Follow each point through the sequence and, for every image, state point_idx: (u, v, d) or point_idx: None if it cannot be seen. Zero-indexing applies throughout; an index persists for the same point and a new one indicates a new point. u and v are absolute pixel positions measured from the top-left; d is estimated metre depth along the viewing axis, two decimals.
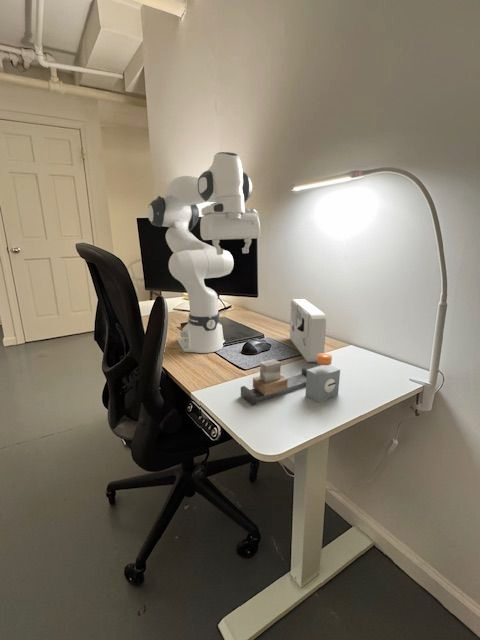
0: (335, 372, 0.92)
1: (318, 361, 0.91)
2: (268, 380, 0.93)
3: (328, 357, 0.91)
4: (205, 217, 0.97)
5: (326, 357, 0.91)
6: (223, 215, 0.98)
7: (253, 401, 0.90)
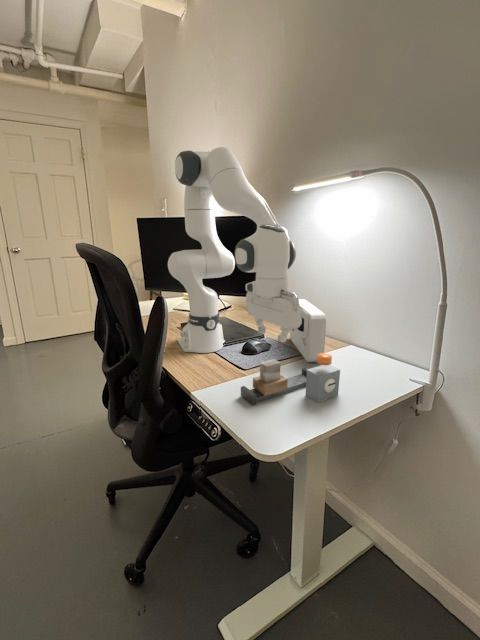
0: (335, 372, 0.92)
1: (318, 361, 0.91)
2: (268, 380, 0.93)
3: (328, 357, 0.91)
4: None
5: (326, 357, 0.91)
6: (254, 295, 0.91)
7: (253, 401, 0.90)
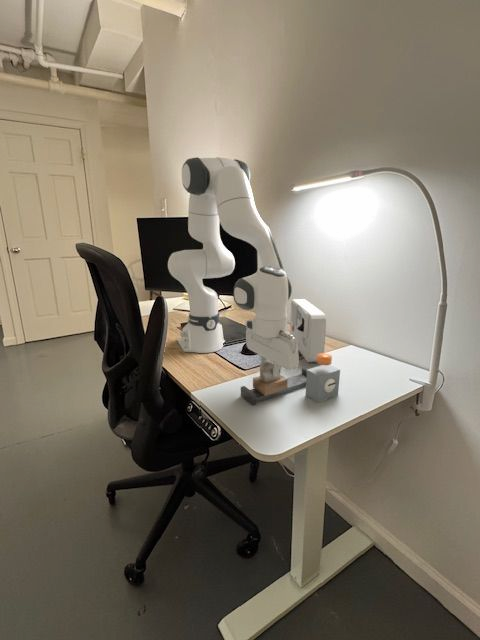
0: (335, 372, 0.92)
1: (318, 361, 0.91)
2: (268, 380, 0.93)
3: (328, 357, 0.91)
4: None
5: (326, 357, 0.91)
6: (254, 333, 0.94)
7: (253, 401, 0.90)
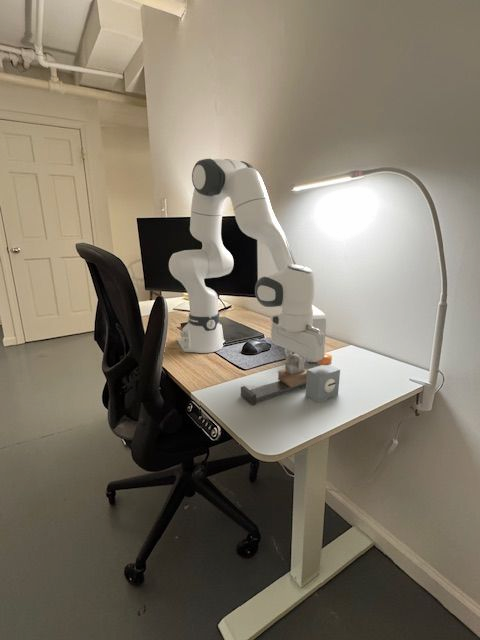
0: (335, 372, 0.92)
1: (318, 361, 0.91)
2: (293, 372, 0.98)
3: (328, 357, 0.91)
4: None
5: (326, 357, 0.91)
6: (280, 327, 0.98)
7: (253, 401, 0.90)
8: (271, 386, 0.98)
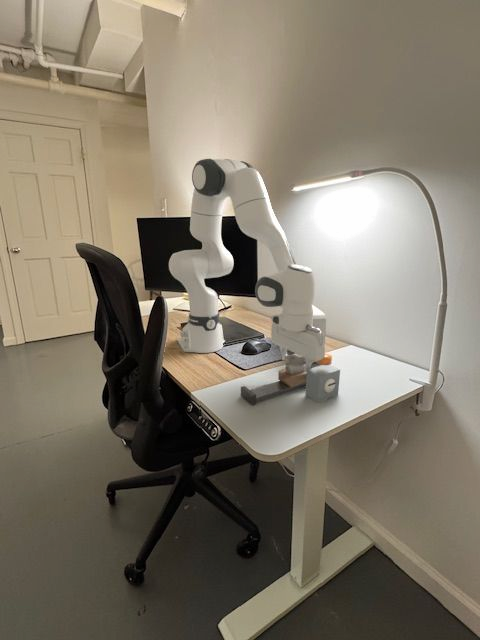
0: (335, 372, 0.92)
1: (318, 361, 0.91)
2: (294, 372, 0.98)
3: (328, 357, 0.91)
4: None
5: (326, 357, 0.91)
6: (280, 327, 0.98)
7: (253, 401, 0.90)
8: (271, 386, 0.98)
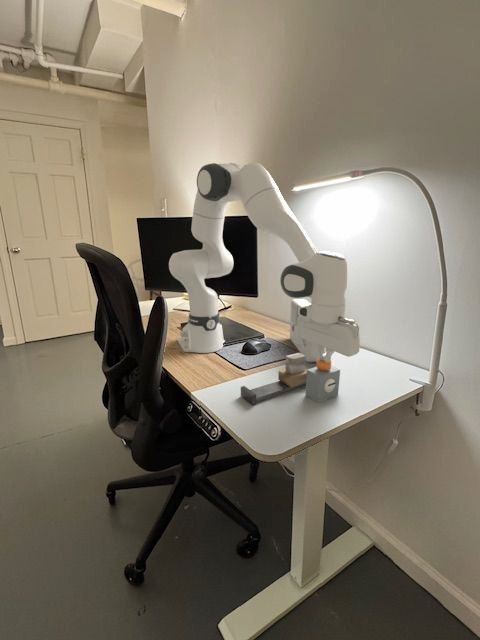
0: (335, 372, 0.92)
1: (318, 366, 0.92)
2: (294, 372, 0.98)
3: (328, 362, 0.91)
4: None
5: None
6: (308, 320, 0.91)
7: (253, 401, 0.90)
8: (271, 386, 0.98)
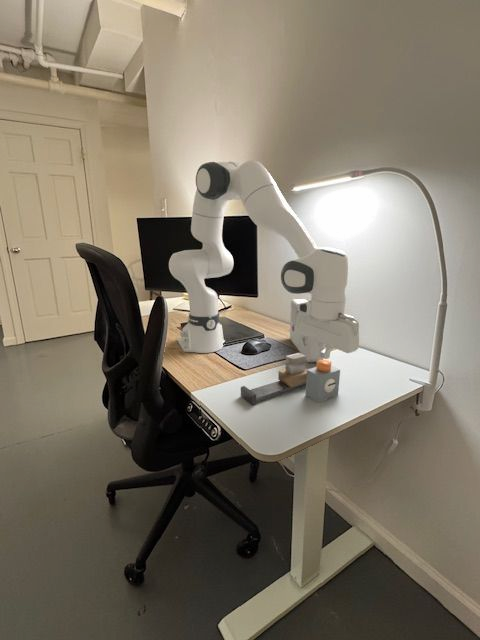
0: (335, 372, 0.92)
1: (318, 368, 0.92)
2: (294, 372, 0.98)
3: (328, 364, 0.91)
4: None
5: (326, 363, 0.91)
6: (308, 316, 0.91)
7: (253, 401, 0.90)
8: (271, 386, 0.98)
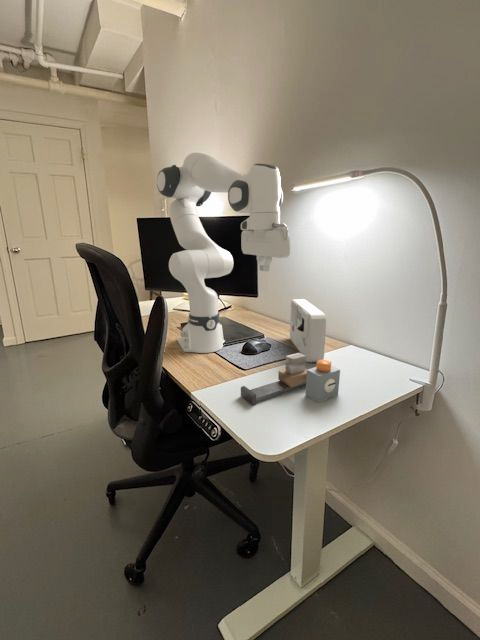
0: (335, 372, 0.92)
1: (318, 368, 0.92)
2: (294, 372, 0.98)
3: (328, 364, 0.91)
4: None
5: (326, 363, 0.91)
6: (248, 232, 0.99)
7: (253, 401, 0.90)
8: (271, 386, 0.98)
